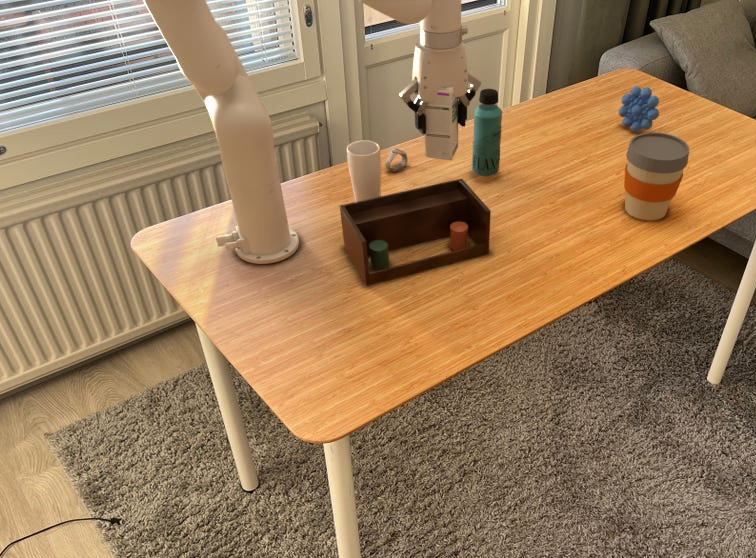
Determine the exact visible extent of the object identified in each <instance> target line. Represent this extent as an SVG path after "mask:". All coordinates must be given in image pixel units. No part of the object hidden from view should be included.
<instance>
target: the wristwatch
mask: <svg viewBox="0 0 756 558" xmlns="http://www.w3.org/2000/svg"><path fill="white" fill-rule="evenodd" d="M397 155H400V156H401V162H400V163H399V165H394V166H393V167H392V166H391V163H392V162H393V160H394V159H395V157H396V156H397ZM407 164H408V155H407V152H406V151H403V150H401V149H398V148H396V147H394V148H392V149H391V150H390V152H389V154H388V156H387V158H386V159H385V161H384V166H385V169H386V170H388V171H389V172H391V173H397V172H399V171H401V170H403V169H404V168H406V167H407Z"/></svg>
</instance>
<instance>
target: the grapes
mask: <svg viewBox="0 0 756 558" xmlns="http://www.w3.org/2000/svg"><path fill="white" fill-rule="evenodd" d="M659 103H660V99H659V97H658V96H657V95H653V91H652V89H651V88H650V87H648V86H646V87H643V88H640V86H634V87H632V88H631V89H630V91H629V93H626V94H624V95H623V96H622V97H621V104H622V105H621V106H620V107H619V109H618V115H619V116H620V117H622V118H623V119H622V126H623V127H624V128H630V129H631V132H633V133H640V132H641V131H642V130H644V131H647V130H650V129H651V128H652V126H653V121H655V120H657V119H658V118H659V116H660V110H659V109H658V108H657V106H659Z"/></svg>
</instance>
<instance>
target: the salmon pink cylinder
mask: <svg viewBox="0 0 756 558" xmlns="http://www.w3.org/2000/svg"><path fill="white" fill-rule="evenodd" d="M467 247H469V234H468V225H467V224H466V223H464V222H454V223H452V224H451V225H450V236H449V248H450V249H451V250H452V251H456V250H460V249H464V248H467Z"/></svg>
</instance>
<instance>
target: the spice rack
mask: <svg viewBox="0 0 756 558" xmlns="http://www.w3.org/2000/svg"><path fill="white" fill-rule="evenodd" d="M339 212H340V213H339V214H340V221H341V229H342V237H343V245H344V250H345V251H346V253H347V255H348V257H349V258H350V260H351V263H352V264H353V265H354V267H355V269H356V270H357V272H358V274H359V275H360V278H361V279H362V281H363V282H364V284H365V286H371V285H375V284H378V283H382V282H385V281H389V280H394V279H396V278H397V279H398V278H400V277H406V276H408V275H412V274H417V273H419V272H423V271H428V270H431V269H435V268H439V267H443V266H446V265H447V266H448V265H450V264H455V263H458V262H462V261H466V260H470V259H475V258H478V257H481V256H485V255H488V254H490V233H491V215H492V214H491V213H492V211H491V210H490V208H489V207H488V206H487V205H486V203H484V202H483V200H482V199H481V198H480V197H479V195H477V193H475V191H474V190H473V189H472V187H470V186H469V184H468V183H467V182H466V181H465V180H464V179H463V178H457V179H453V180H448V181H443V182H439V183H435V184H430V185H426V186H422V187H416V188H413V189H408V190H403V191H399V192H394V193H390V194H384V195H381V196H380V197H376V198H371V199H367V200H362V201H358V202H355V201H353V202H350V203H345V204H344V203H343V204H340V205H339ZM454 222H464V223H466V224H467V225H468V236H469V237H471V239H472V240H473V241H474V242H475V244H476V245H472V246H468V247H467V248H464V249H460V250H456V251H454V250H452V251H449V252H443V253H441V254H436V255H433V256H428V257H425V258H421V259H417V260H413V261H410V262H409V261H408V262H405V263H401V264H397V265H394V266H389V268H385V269H382V270H378V271H374V270H373V271H371V272H370V267H369V258H368V257H370V251H369V244H370V243H371V242H373V241H376V240H382V241H385V242H386V243H387V244H388V252H389V251H394V250H399V249H401V248H407V247H410V246H414V245H419V244H422V243H426V242H431V241H434V240H438V239H443V238H446V237H447V238H448V237H450V225H451V224H452V223H454Z"/></svg>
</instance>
